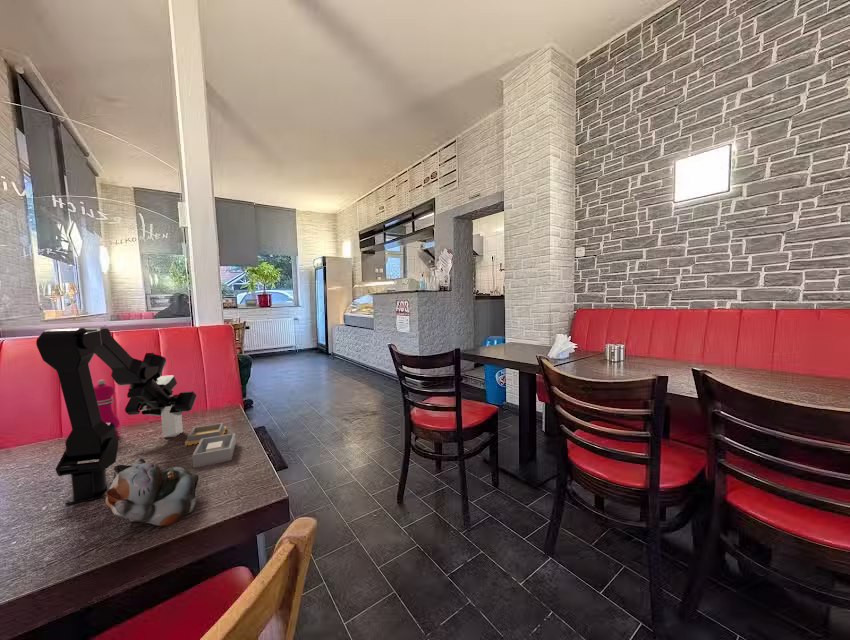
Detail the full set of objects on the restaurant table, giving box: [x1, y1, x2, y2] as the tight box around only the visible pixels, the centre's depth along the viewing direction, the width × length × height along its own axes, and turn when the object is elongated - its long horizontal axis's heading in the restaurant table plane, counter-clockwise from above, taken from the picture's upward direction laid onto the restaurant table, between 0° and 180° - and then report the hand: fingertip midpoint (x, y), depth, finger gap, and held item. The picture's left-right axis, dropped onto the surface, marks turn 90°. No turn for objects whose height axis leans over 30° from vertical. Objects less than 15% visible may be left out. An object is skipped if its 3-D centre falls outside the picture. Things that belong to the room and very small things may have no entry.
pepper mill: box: [93, 379, 121, 439], centre depth 112 cm, size 7×7×20 cm
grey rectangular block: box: [160, 394, 184, 438], centre depth 114 cm, size 4×4×13 cm
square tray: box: [184, 422, 227, 447], centre depth 111 cm, size 10×10×3 cm
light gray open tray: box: [192, 432, 237, 468], centre depth 98 cm, size 12×9×4 cm
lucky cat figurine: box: [104, 457, 199, 527], centre depth 70 cm, size 15×12×14 cm
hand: (174, 414), depth 115 cm, fingers closed on grey rectangular block, 4 cm apart
